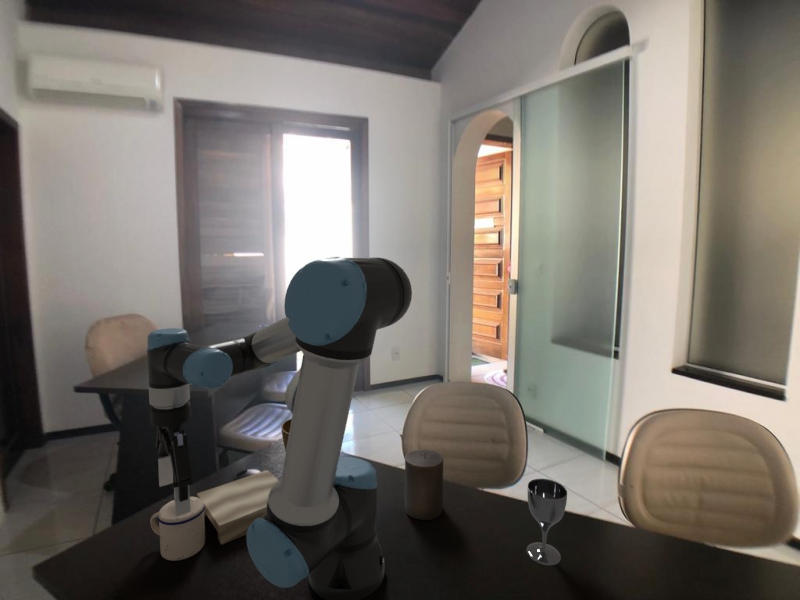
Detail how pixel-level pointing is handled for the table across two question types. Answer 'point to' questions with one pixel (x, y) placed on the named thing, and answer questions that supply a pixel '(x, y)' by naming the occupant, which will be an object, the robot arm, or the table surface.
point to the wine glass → (545, 516)
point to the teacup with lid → (180, 530)
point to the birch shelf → (237, 504)
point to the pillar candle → (423, 484)
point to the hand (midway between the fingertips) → (174, 498)
